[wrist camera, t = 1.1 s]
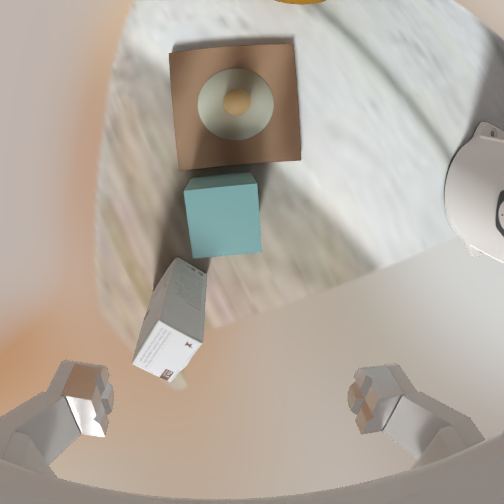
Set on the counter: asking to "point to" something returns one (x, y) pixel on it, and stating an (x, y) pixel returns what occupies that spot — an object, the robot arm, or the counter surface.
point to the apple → (301, 1)
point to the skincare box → (173, 321)
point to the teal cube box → (223, 215)
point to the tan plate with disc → (235, 105)
